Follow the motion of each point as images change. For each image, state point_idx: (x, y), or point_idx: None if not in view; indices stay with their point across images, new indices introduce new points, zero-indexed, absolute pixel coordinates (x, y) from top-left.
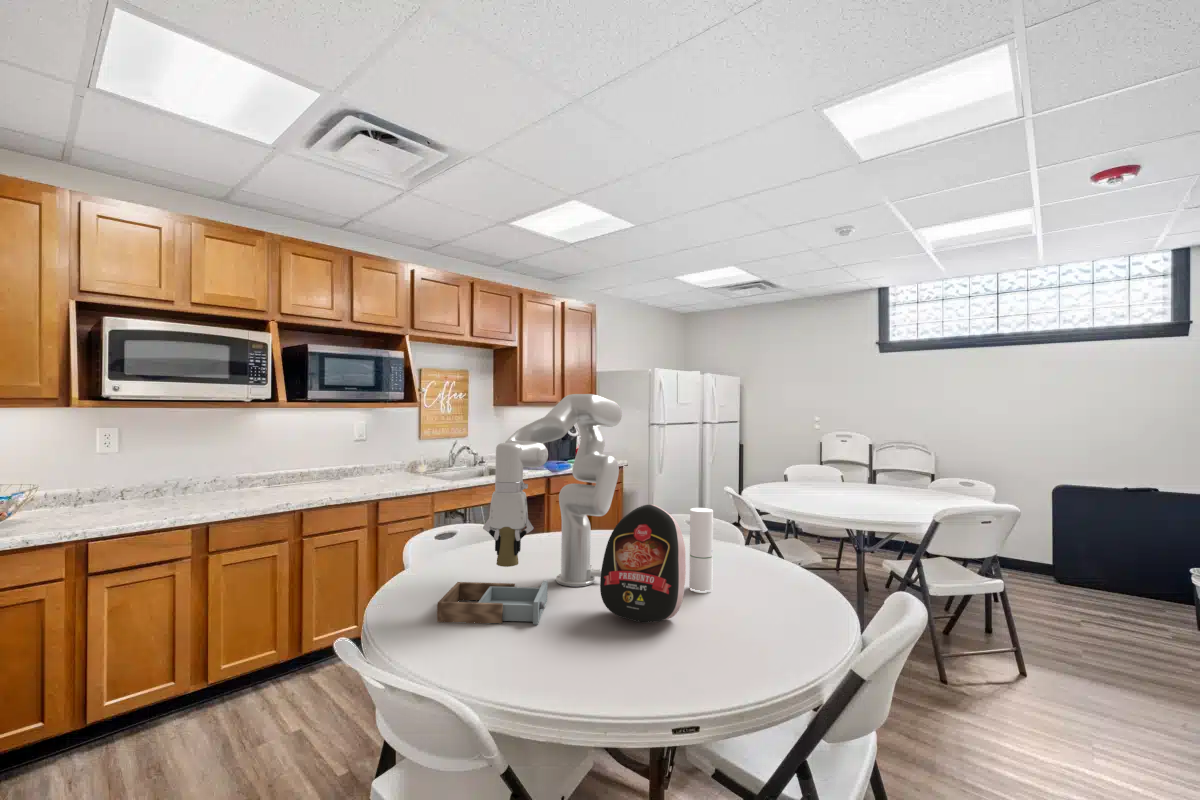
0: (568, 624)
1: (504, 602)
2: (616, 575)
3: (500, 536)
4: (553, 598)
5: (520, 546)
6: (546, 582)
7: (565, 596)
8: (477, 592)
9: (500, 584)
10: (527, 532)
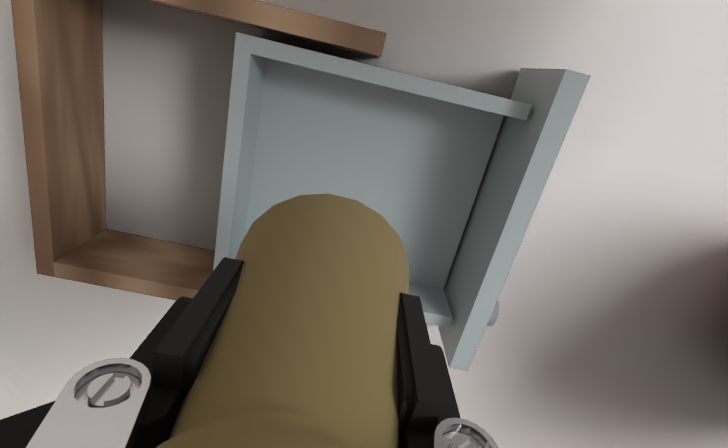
0: (553, 317)
1: (331, 113)
2: None
3: (157, 422)
4: (579, 30)
5: (446, 367)
6: (573, 110)
7: (649, 7)
8: (176, 6)
9: (296, 34)
10: None
